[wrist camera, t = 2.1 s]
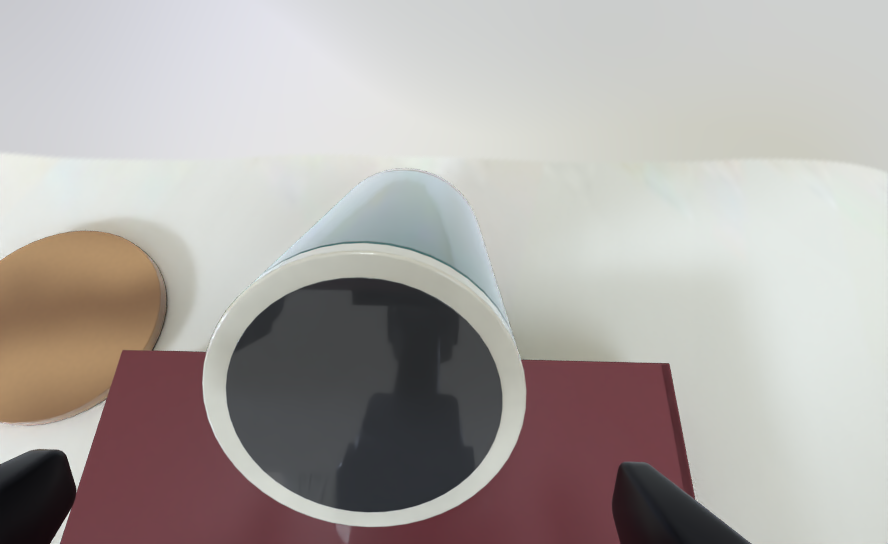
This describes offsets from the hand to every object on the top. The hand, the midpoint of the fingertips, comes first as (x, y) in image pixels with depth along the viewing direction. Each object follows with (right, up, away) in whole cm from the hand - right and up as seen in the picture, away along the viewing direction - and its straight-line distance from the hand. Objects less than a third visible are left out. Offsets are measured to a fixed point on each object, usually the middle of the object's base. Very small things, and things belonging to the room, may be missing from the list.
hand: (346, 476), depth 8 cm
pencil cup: (0, 0, +13) cm, 13 cm away
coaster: (-16, +1, +14) cm, 21 cm away
